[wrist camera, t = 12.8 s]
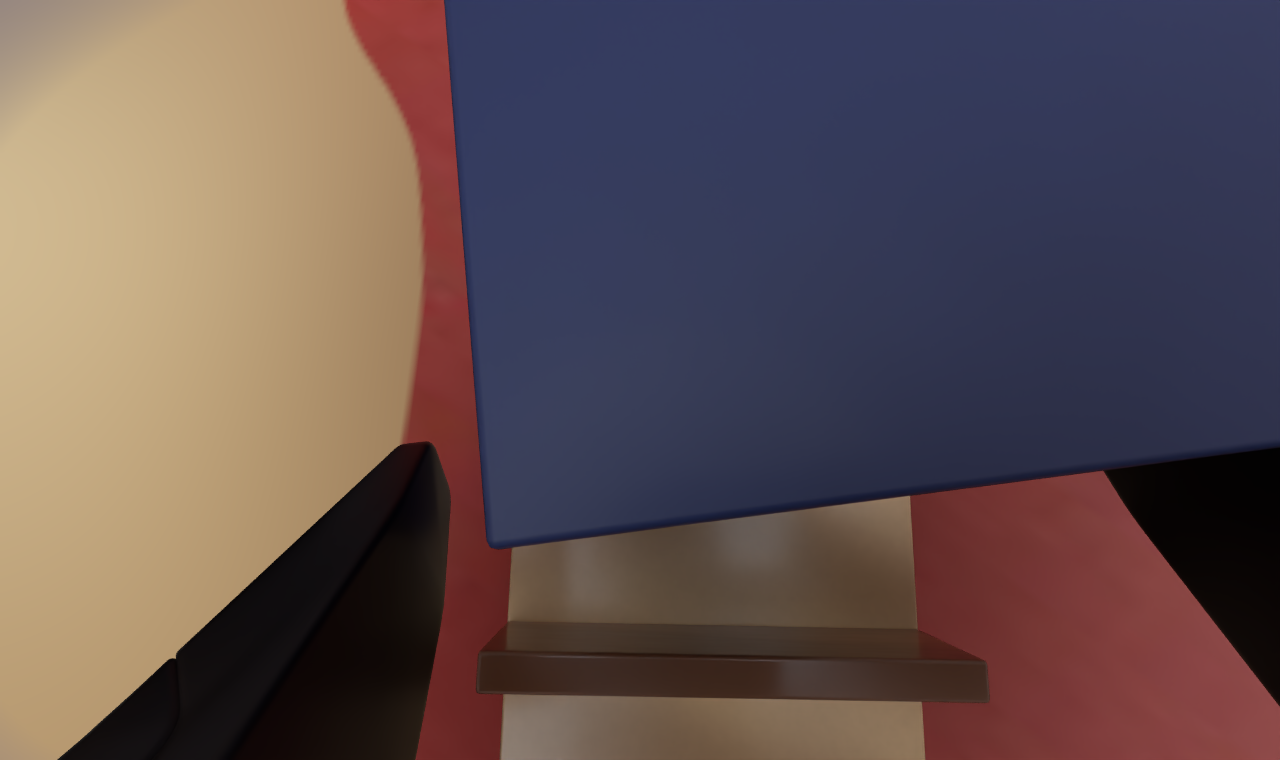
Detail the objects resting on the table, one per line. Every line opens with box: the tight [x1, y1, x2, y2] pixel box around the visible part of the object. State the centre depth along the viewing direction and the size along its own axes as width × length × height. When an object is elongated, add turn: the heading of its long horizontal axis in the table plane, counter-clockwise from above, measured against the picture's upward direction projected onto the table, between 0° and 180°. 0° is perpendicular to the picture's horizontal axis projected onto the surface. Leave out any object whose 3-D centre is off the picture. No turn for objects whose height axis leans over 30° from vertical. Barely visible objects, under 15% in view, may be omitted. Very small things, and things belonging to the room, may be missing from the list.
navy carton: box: [444, 0, 1280, 550], centre depth 10 cm, size 5×6×12 cm
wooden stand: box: [476, 496, 990, 760], centre depth 16 cm, size 18×10×8 cm, turn 179°
